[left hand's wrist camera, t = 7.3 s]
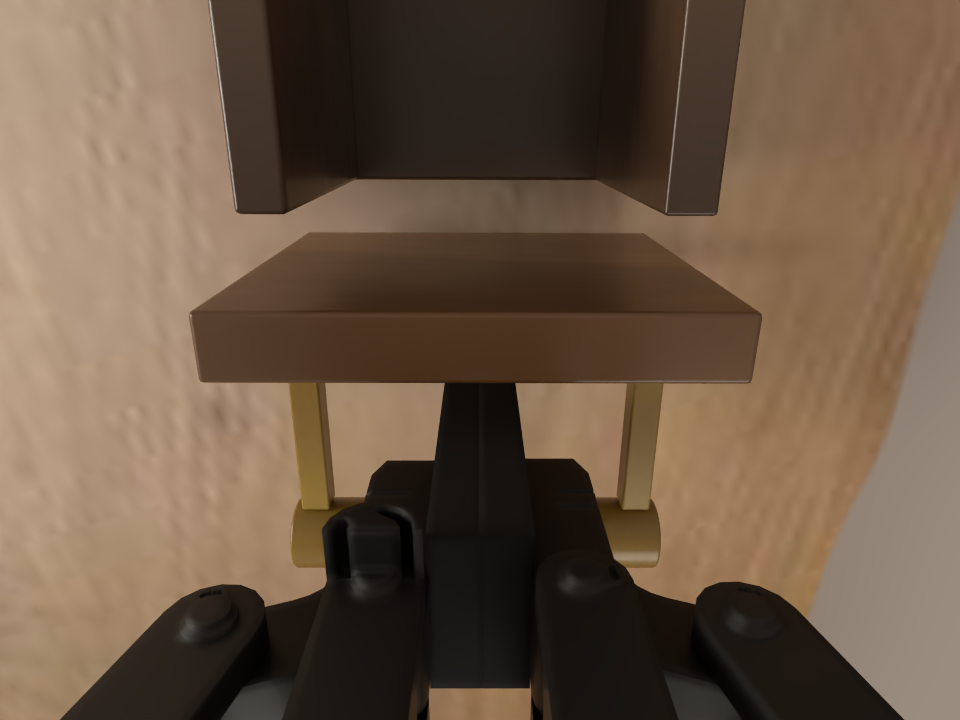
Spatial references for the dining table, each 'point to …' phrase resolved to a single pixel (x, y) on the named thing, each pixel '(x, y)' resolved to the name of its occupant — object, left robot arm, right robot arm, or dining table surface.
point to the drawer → (476, 256)
